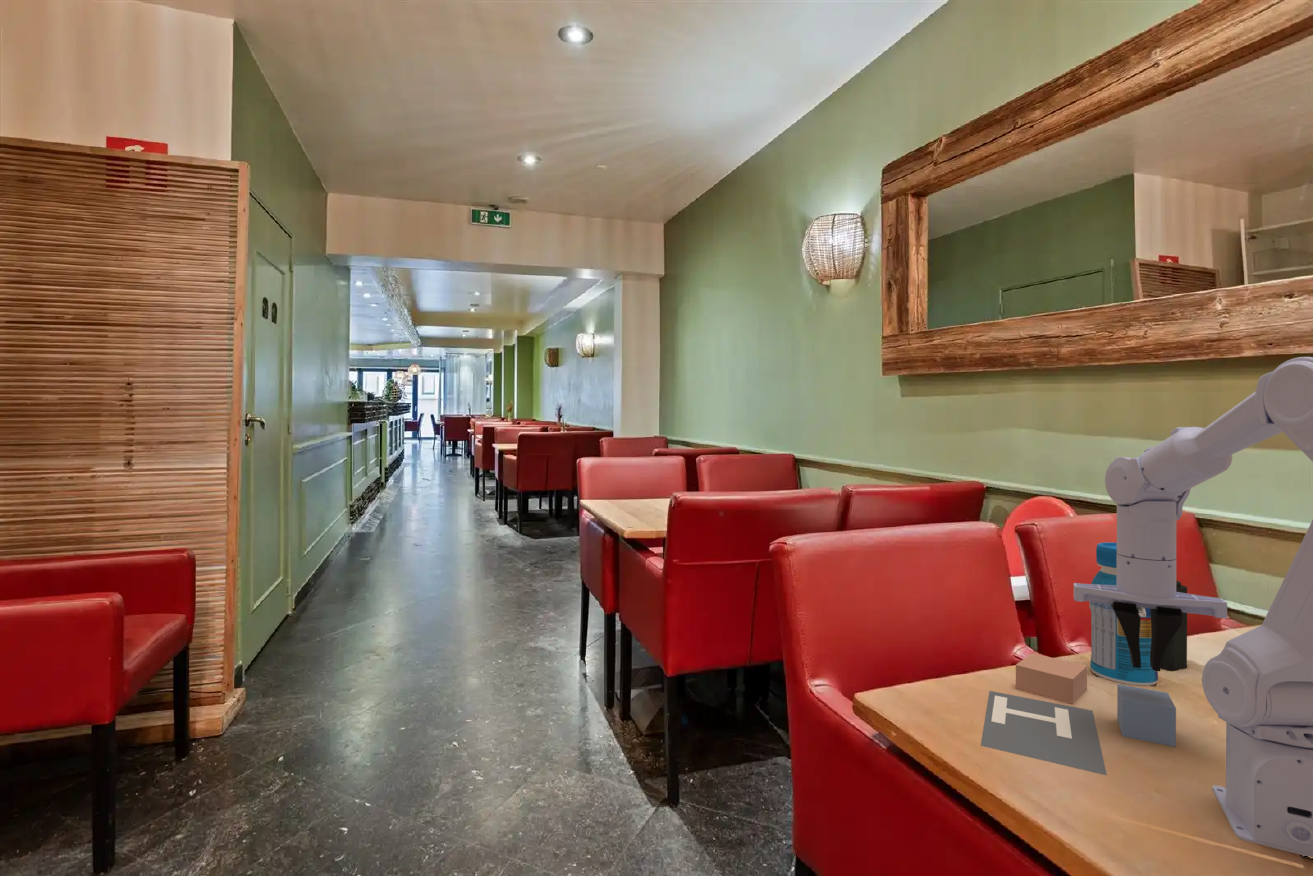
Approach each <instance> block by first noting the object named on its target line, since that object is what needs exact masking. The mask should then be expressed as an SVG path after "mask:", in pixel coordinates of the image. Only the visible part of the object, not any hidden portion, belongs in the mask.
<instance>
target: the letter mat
mask: <svg viewBox="0 0 1313 876" xmlns="http://www.w3.org/2000/svg"><path fill="white" fill-rule="evenodd" d="M987 698H988V699H987V703H986V704H987V705H986V709H985V715H984V722H983V729H982V735H981V741H980V746H981V747H983V748H989V749H993V750H997V751H1000V752H1001V751H1002V752H1006V753H1011V754H1014V755H1019V756H1021V757H1022V756H1023V757H1027V758H1032V759H1035V760H1040V761H1044V762H1049V763H1052V764H1056V765H1060V766H1066V767H1069V768H1074V769H1078V770H1082V771H1087V772H1091V773H1095V774H1099V775H1104V776H1107V775H1108V774H1107V769H1106V765H1105V760H1104V757H1103V752H1102V747H1101V743H1100V738H1099V734H1098V730H1097V725H1096V721H1095V716H1094V711H1093V710H1092V709H1087V708H1080V707H1076V706H1071V705H1065V704H1059V703H1055V702H1051V701H1045V700H1041V699H1040V700H1039V699H1034V698H1029V697H1024V696H1018V695H1013V694H1010V693H1009V694H1008V693H1003V692H998V691H994V690H989V692H988V697H987Z"/></svg>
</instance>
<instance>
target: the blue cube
mask: <svg viewBox="0 0 1313 876" xmlns="http://www.w3.org/2000/svg"><path fill="white" fill-rule="evenodd" d="M1116 693H1117V695H1116V696H1117V700H1116V702H1117V705H1116V706H1117V709H1116V710H1117V712H1116V713H1117V719H1116V721H1117V723H1118V727H1119V729H1120V732H1121V733H1120V734H1121V736H1122V737H1125V738H1129V739H1134V740H1138V741H1142V742H1143V741H1144V742H1148V743H1154V744H1159V745H1164V746H1167V747H1168V746H1169V747H1172V748H1177V707H1176V706H1175V704H1174V702H1173V700H1172V699H1171V696H1170V694H1169V692H1164V691H1159V690H1153V689H1149V688H1142V687H1137V686H1132V685H1126V684H1120V683H1117V692H1116Z"/></svg>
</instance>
